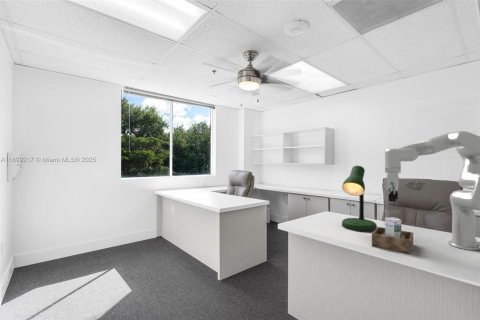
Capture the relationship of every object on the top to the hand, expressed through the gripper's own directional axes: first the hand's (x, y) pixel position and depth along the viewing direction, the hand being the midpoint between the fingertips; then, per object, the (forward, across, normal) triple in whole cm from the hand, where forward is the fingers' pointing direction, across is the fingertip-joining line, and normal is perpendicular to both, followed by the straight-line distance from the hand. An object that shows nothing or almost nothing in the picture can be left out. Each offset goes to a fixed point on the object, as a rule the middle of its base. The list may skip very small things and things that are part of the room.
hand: (393, 200), depth 133 cm
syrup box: (+25, +1, 0) cm, 25 cm away
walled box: (+26, 0, -1) cm, 26 cm away
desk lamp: (+26, -22, -25) cm, 42 cm away
